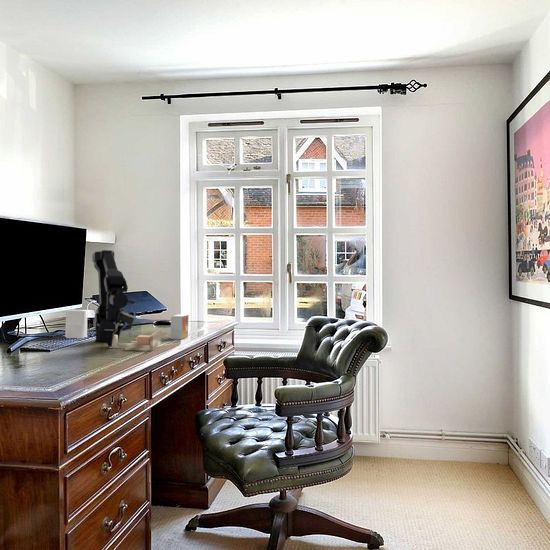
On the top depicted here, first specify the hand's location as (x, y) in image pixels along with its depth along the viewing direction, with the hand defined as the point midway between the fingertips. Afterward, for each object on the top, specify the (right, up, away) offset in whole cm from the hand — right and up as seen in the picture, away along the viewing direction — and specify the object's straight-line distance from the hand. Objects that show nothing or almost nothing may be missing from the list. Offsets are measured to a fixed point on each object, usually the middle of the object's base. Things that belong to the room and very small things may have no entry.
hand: (113, 344), depth 203 cm
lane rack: (+11, -1, +4) cm, 12 cm away
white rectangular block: (-24, 0, +23) cm, 33 cm away
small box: (+21, -1, +30) cm, 36 cm away
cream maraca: (+7, -1, 0) cm, 7 cm away
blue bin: (-15, 0, +50) cm, 52 cm away
